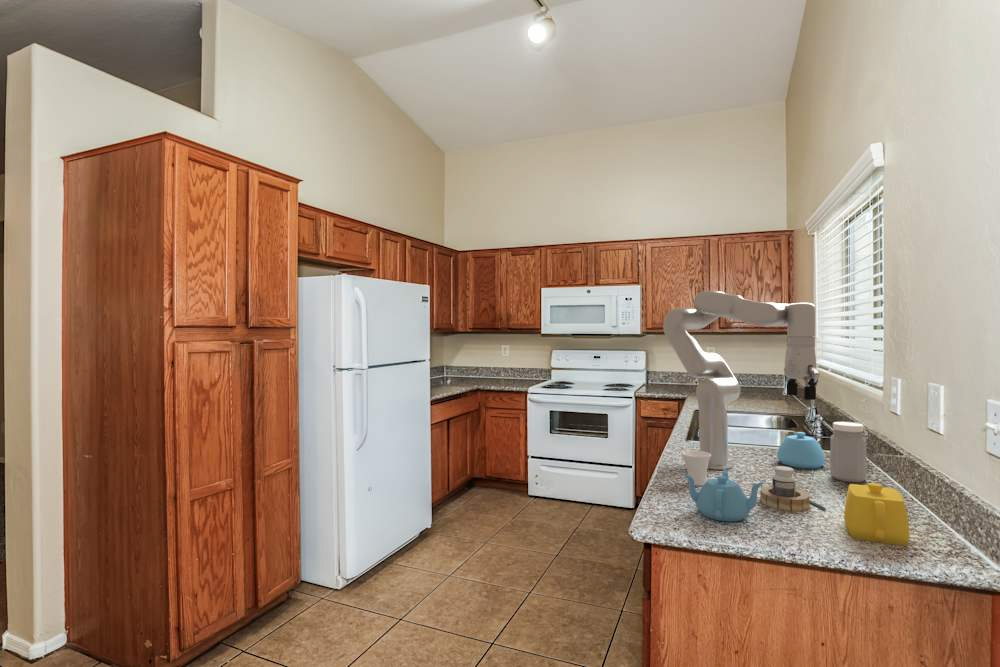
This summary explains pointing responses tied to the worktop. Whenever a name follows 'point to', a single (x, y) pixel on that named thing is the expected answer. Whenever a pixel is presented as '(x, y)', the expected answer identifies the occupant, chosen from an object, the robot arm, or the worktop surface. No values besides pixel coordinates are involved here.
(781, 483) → the pill bottle
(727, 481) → the teapot
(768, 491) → the segmented tan ring
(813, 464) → the sugar bowl
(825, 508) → the green stick
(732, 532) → the worktop surface
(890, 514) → the teapot
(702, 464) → the cup
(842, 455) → the jar
